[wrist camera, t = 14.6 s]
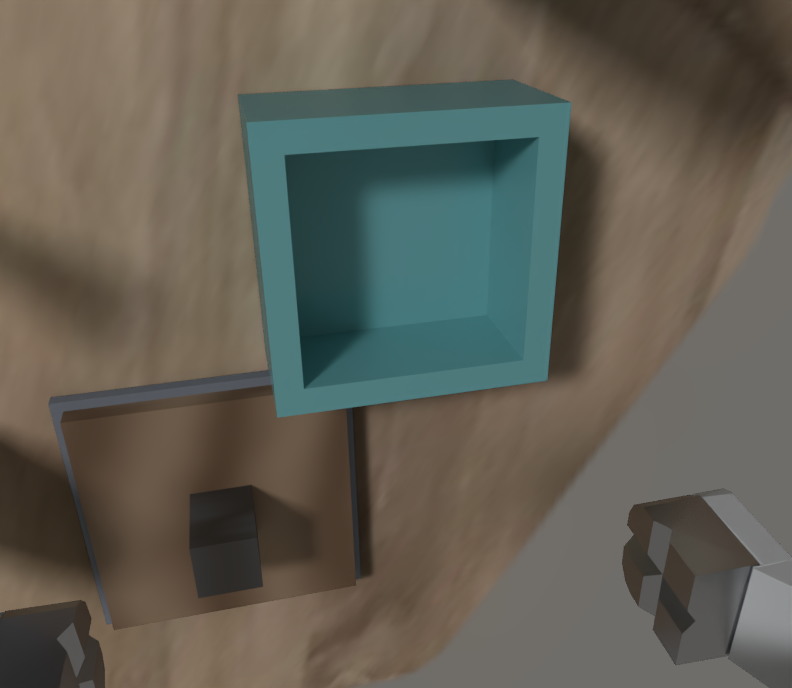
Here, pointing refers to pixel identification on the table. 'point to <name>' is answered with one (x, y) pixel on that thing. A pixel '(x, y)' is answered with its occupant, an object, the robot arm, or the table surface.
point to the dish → (404, 238)
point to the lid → (212, 502)
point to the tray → (169, 391)
